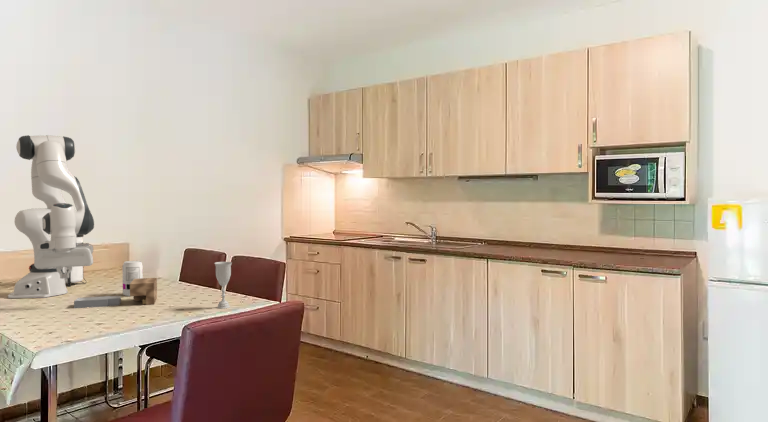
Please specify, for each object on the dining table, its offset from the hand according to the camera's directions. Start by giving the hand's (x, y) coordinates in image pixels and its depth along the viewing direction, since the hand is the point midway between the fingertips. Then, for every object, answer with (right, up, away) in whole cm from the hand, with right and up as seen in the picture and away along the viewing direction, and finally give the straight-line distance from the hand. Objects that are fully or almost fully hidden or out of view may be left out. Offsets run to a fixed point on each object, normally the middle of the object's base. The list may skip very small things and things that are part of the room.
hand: (64, 278), depth 211 cm
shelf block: (+27, -12, +12) cm, 32 cm away
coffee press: (-30, -10, +52) cm, 61 cm away
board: (+11, -12, +5) cm, 17 cm away
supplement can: (+14, -11, +27) cm, 33 cm away
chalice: (+63, -12, +2) cm, 64 cm away
